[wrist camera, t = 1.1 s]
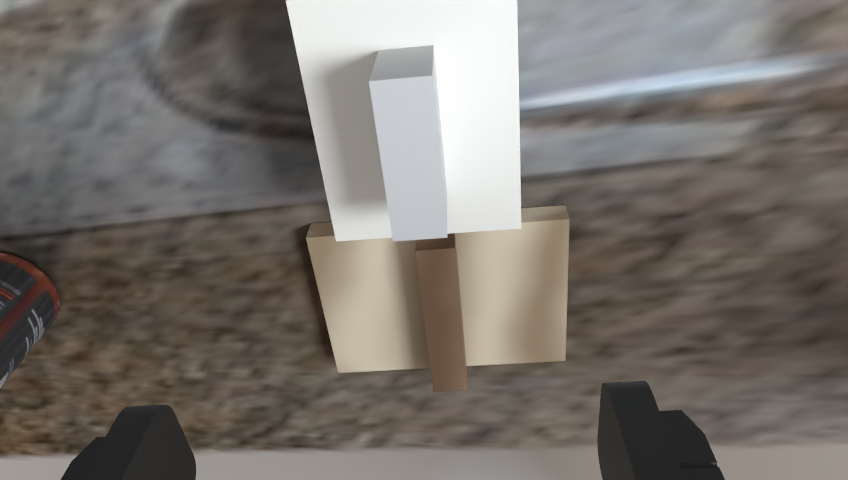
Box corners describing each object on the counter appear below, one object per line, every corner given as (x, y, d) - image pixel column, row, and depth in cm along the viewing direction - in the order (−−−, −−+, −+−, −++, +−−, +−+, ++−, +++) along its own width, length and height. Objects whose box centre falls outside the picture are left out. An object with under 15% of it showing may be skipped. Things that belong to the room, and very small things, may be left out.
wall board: (564, 205, 33) (576, 239, 31) (561, 344, 39) (570, 385, 36) (310, 223, 35) (298, 258, 32) (341, 356, 40) (333, 397, 37)
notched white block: (500, -52, 27) (528, -2, 18) (507, 158, 32) (531, 276, 23) (319, -33, 27) (260, 24, 19) (355, 170, 33) (322, 290, 24)
